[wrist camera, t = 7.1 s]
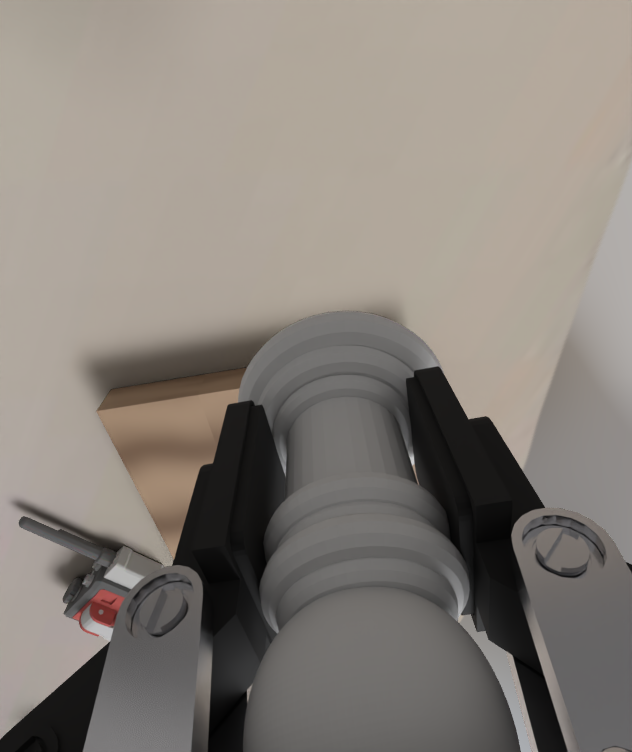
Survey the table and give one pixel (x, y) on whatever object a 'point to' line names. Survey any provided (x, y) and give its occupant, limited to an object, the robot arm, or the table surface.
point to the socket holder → (170, 439)
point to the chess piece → (360, 559)
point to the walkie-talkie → (97, 579)
